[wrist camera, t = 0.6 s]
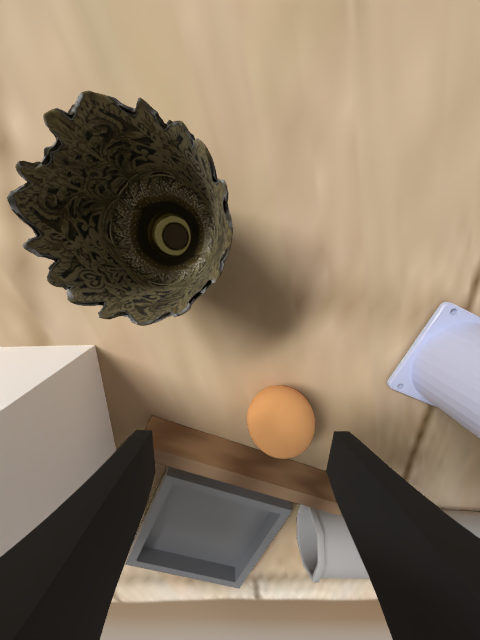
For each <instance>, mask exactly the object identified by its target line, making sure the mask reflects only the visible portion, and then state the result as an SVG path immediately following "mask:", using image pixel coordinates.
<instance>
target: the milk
mask: <svg viewBox="0 0 480 640" xmlns="http://www.w3.org/2000/svg"><path fill="white" fill-rule="evenodd" d="M115 451H116V446H115V442H114V437H113V432H112V427H111V422H110V417H109V412H108V407H107V402H106V397H105V392H104V387H103V382H102V377H101V373H100V368H99V363H98V358H97V353H96V348H95V345H75V346H33V347H0V557H1V556H2V555H3V554H5V553H6V552H7V551H8V550H10V549H11V548H12V547H13V546H14V545H16V544H17V543H18V542H19V541H20V540H22V539H23V538H24V537H25V536H26V535H27V534H29V533H30V532H31V531H32V530H33V529H34V528H36V527H37V526H38V525H39V524H40V523H41V522H42V521H44V520H45V519H46V518H47V517H48V516H49V515H50V514H51V513H53V512H54V511H55V510H56V509H57V508H58V507H59V506H60V505H61V504H62V503H63V502H64V501H66V500H67V499H68V498H69V497H70V496H71V495H72V494H73V493H74V492H75V491H76V490H77V489H78V488H79V487H81V486H82V485H83V484H84V483H85V482H86V481H87V480H88V479H89V478H90V477H91V476H92V475H93V474H94V473H95V472H96V471H97V470H98V469H99V468H100V467H101V466H102V465H103V464H104V463H105V462H106V461H107V460H108V459H109V458H110V457H111V456H112V454H113V453H114V452H115Z"/></svg>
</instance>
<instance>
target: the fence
mask: <svg viewBox="0 0 480 640" xmlns="http://www.w3.org/2000/svg"><path fill="white" fill-rule="evenodd" d="M146 430H152V434H153V447H154V460H155V463H159V464H162V465H166V466H169V467H173V468H176V469H180V470H183V471H187V472H190V473H194V474H197V475H201V476H204V477H207V478H211V479H214V480H218V481H221V482H225V483H228V484H232V485H235V486H239V487H242V488H246V489H249V490H253V491H256V492H260V493H263V494H266V495H270V496H273V497H277V498H280V499H284V500H287V501H291V502H294V503H298V504H301V505H305V506H308V507H312V508H315V509H318V510H322V511H325V512H329V513H332V514H336V515H340V514H341V511H340V509H339V507H338V504H337V502H336V499H335V496H334V493H333V490H332V487H331V484H330V481H329V478H328V474H327V472H326V471H323V470H319V469H316V468H313V467H310V466H307V465H304V464H301V463H298V462H295V461H291V460H288V459H280V458H275V457H272V456H269V455H267V454H266V453H264V452H263V451H260V450H257V449H254V448H251V447H248V446H245V445H242V444H238V443H235V442H232V441H229V440H226V439H223V438H220V437H217V436H213V435H210V434H207V433H204V432H201V431H198V430H195V429H192V428H189V427H185V426H182V425H179V424H176V423H173V422H170V421H167V420H164V419H160V418H157V417H154V416H152V417H151V419H150V421H149V423H148V425H147V427H146Z"/></svg>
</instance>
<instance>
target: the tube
mask: <svg viewBox="0 0 480 640" xmlns="http://www.w3.org/2000/svg"><path fill="white" fill-rule="evenodd" d="M441 510H442V511H444V512H445V513H446V514H447V515H449V516H450V517H451V518H453V519H454V520H455V521H457V522H458V523H459V524H461V525H462V526H463V527H465V528H466V529H468V530H469V531H470V532H472V533H473V534H474V535H476V536H477V537H479V538H480V511H462V510H444V509H441ZM297 542H298V546H299V550H300V555H301V559H302V563H303V566H304V568H305V569H306V571H307V573H308V574H309V576H310V578H311V579H312V581H313V582H319V581H320V579H321V578H352V579H370V578H369V575H368V573H367V571H366V569H365V566H364V564H363V562H362V559H361V557H360V555H359V553H358V550H357V548H356V546H355V544H354V541H353V539H352V537H351V534H350V532H349V530H348V528H347V525H346V523H345V521H344V518H343V516H342V514H340V515H336V514H332V513H329V512H325V511H322V510H318V509H315V508H312V507H308V506H305V505H301V504H300V507H299V511H298V514H297Z"/></svg>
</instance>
